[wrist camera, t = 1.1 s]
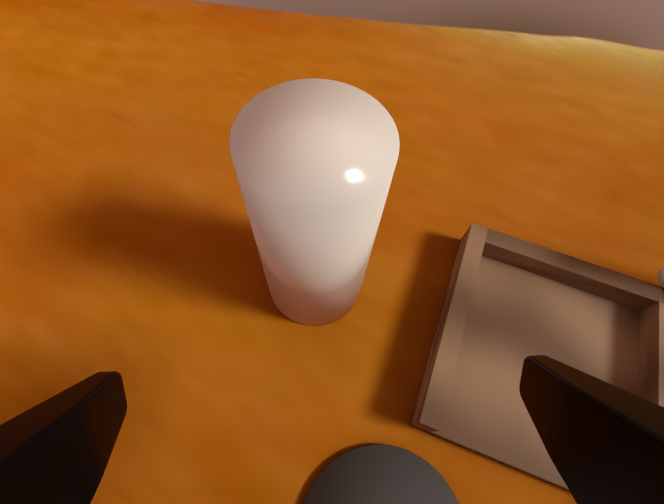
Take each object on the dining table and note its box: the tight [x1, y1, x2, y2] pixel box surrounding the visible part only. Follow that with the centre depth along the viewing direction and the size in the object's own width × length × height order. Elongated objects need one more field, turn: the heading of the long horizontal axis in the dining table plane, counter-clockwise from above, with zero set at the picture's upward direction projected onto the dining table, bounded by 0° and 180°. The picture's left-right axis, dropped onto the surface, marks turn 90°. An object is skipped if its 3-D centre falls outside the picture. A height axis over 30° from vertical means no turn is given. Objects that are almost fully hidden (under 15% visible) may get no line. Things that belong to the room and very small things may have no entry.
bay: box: [410, 223, 664, 491], centre depth 22 cm, size 12×12×2 cm
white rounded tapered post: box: [229, 79, 399, 326], centre depth 19 cm, size 6×6×12 cm
